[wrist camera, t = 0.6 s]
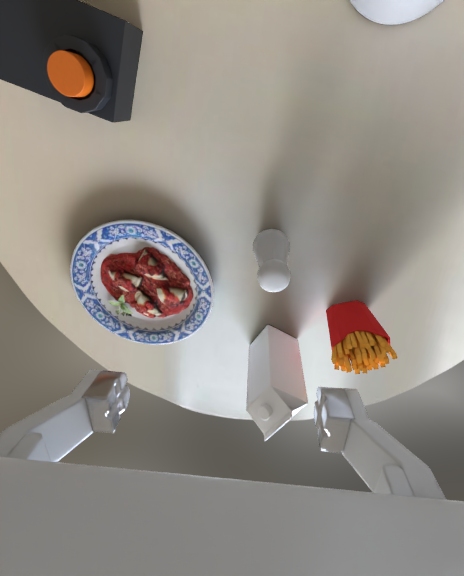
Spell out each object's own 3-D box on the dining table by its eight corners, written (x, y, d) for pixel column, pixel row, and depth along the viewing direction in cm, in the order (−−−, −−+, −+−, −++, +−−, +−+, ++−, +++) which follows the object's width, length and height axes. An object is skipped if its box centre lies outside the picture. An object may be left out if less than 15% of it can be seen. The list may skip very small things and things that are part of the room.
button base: (27, 80, 40) (-17, 76, 34) (25, -19, 35) (-27, -46, 29) (130, 120, 42) (106, 123, 35) (143, 31, 37) (118, 16, 30)
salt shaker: (249, 253, 51) (246, 295, 40) (256, 221, 48) (256, 256, 37) (283, 259, 51) (290, 303, 40) (293, 228, 48) (303, 265, 37)
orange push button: (57, 89, 34) (46, 88, 32) (58, 46, 32) (46, 43, 30) (92, 102, 35) (83, 102, 33) (96, 61, 33) (86, 59, 31)
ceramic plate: (169, 189, 46) (163, 194, 44) (238, 315, 58) (237, 325, 55) (46, 249, 53) (35, 257, 51) (129, 351, 65) (124, 361, 62)
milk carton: (298, 339, 60) (312, 426, 43) (277, 360, 63) (283, 449, 47) (267, 323, 58) (271, 407, 42) (248, 346, 62) (244, 432, 45)
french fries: (369, 297, 53) (398, 348, 42) (371, 316, 55) (399, 369, 44) (317, 307, 55) (331, 358, 44) (320, 325, 57) (335, 378, 46)
